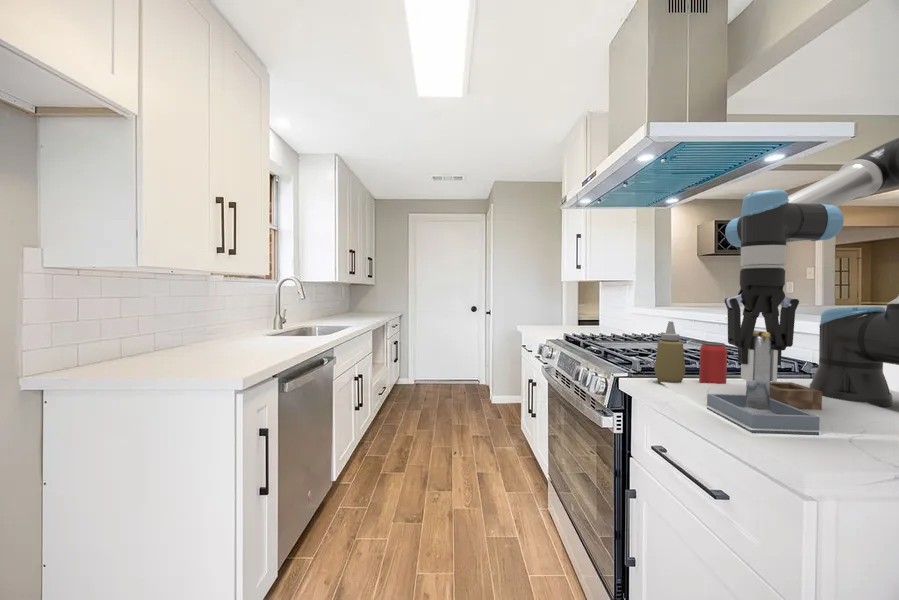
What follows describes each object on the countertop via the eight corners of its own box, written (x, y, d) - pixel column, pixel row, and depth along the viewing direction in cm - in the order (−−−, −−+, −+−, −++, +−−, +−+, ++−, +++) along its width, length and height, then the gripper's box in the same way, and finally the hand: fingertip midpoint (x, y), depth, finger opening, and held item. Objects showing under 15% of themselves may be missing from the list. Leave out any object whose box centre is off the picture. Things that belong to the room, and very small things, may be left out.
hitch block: (791, 402, 101) (791, 382, 101) (821, 414, 92) (822, 391, 92) (752, 401, 102) (752, 381, 102) (778, 412, 93) (779, 390, 93)
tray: (762, 410, 95) (762, 395, 95) (818, 435, 79) (819, 416, 79) (706, 408, 96) (707, 393, 95) (752, 433, 80) (752, 414, 80)
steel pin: (758, 403, 90) (760, 329, 90) (775, 410, 84) (778, 332, 84) (738, 402, 90) (740, 329, 90) (755, 410, 85) (757, 332, 84)
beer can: (730, 387, 116) (731, 345, 116) (704, 386, 118) (705, 344, 117) (720, 382, 123) (721, 342, 123) (695, 381, 124) (696, 341, 124)
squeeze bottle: (666, 379, 127) (668, 320, 126) (691, 385, 119) (693, 322, 119) (647, 381, 123) (649, 320, 123) (672, 387, 116) (673, 323, 115)
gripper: (792, 268, 89) (788, 377, 90) (709, 268, 91) (706, 375, 91) (820, 266, 82) (816, 385, 83) (729, 266, 83) (726, 383, 84)
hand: (758, 379), depth 87 cm, fingers closed on steel pin, 4 cm apart
